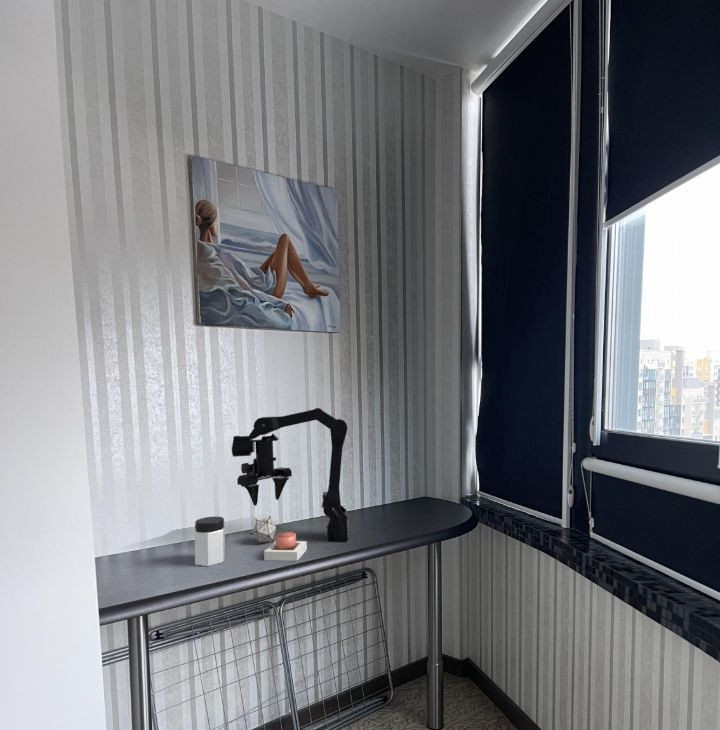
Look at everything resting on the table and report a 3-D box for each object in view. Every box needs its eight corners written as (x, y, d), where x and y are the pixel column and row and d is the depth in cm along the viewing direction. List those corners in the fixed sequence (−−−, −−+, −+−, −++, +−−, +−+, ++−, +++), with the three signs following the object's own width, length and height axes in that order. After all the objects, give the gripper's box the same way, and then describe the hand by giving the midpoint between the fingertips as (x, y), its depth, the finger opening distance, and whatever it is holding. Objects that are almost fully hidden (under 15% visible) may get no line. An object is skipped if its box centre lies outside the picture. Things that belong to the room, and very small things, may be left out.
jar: (198, 557, 140) (197, 517, 141) (225, 555, 141) (225, 515, 142) (193, 568, 131) (192, 525, 132) (222, 565, 132) (222, 522, 133)
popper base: (306, 549, 144) (306, 541, 144) (297, 560, 134) (297, 552, 134) (276, 548, 145) (275, 540, 146) (264, 560, 136) (264, 551, 136)
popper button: (298, 544, 142) (298, 531, 142) (292, 550, 136) (292, 537, 137) (279, 543, 143) (279, 531, 143) (273, 550, 137) (272, 536, 138)
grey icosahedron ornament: (259, 555, 151) (239, 531, 151) (274, 538, 158) (256, 515, 159) (273, 546, 146) (254, 521, 147) (289, 529, 154) (270, 505, 154)
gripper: (270, 450, 166) (272, 494, 165) (226, 457, 152) (228, 505, 151) (291, 451, 159) (293, 497, 158) (247, 459, 145) (249, 509, 144)
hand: (266, 502), depth 153 cm, fingers open, 9 cm apart
